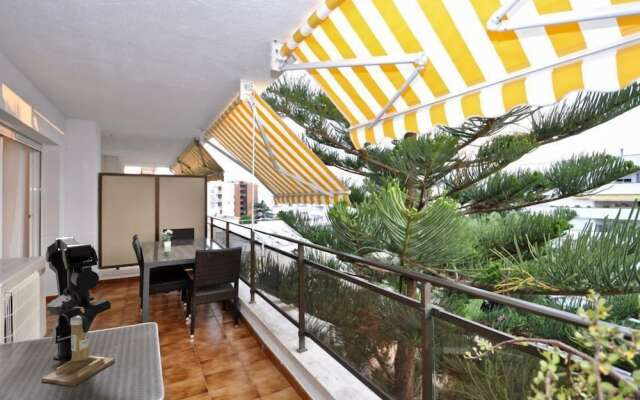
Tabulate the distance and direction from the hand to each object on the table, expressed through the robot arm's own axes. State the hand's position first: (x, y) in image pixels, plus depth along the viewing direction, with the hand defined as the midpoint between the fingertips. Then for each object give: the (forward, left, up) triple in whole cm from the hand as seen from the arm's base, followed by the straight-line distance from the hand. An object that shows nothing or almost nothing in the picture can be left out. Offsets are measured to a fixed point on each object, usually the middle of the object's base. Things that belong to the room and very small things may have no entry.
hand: (79, 331), depth 99 cm
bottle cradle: (0, 0, -13) cm, 13 cm away
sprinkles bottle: (0, 0, -9) cm, 9 cm away
